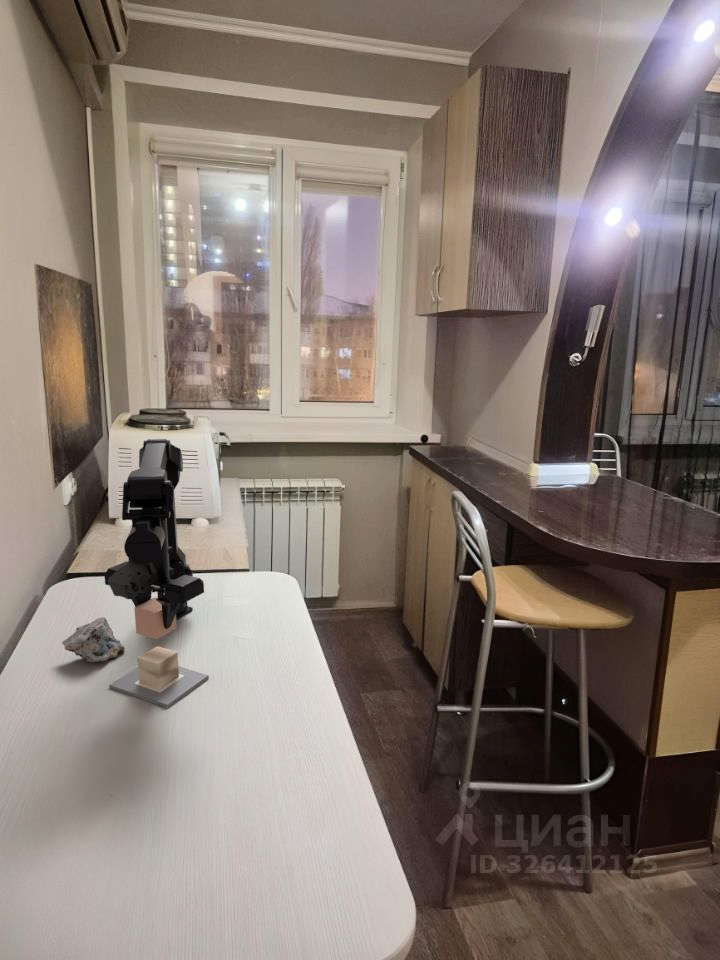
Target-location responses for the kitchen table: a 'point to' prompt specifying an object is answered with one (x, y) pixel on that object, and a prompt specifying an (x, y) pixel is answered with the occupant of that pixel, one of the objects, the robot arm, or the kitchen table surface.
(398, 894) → the kitchen table surface
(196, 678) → the slate board
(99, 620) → the mineral specimen
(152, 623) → the terracotta cube
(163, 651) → the beech cube
